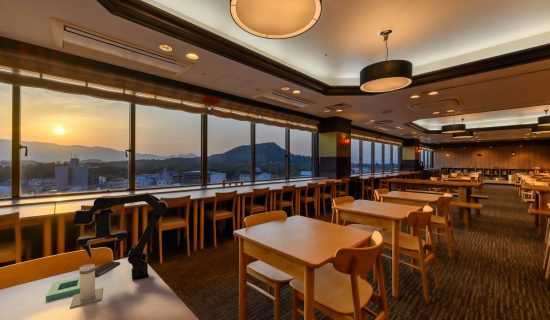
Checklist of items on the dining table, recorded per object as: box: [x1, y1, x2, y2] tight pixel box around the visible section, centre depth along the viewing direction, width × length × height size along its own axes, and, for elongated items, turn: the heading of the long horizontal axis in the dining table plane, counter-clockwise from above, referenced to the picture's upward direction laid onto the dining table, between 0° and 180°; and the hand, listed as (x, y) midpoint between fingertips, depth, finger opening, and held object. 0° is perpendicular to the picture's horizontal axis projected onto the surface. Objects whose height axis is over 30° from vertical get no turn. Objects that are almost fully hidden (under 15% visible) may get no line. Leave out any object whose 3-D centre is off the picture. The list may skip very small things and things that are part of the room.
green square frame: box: [45, 276, 80, 302], centre depth 105 cm, size 12×12×2 cm
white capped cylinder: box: [79, 263, 96, 300], centre depth 99 cm, size 5×5×13 cm
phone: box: [95, 260, 121, 278], centre depth 124 cm, size 8×1×15 cm
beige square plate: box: [69, 287, 104, 309], centre depth 99 cm, size 10×10×1 cm
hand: (103, 255), depth 111 cm, fingers open, 9 cm apart
